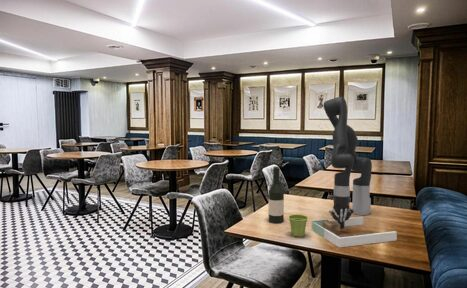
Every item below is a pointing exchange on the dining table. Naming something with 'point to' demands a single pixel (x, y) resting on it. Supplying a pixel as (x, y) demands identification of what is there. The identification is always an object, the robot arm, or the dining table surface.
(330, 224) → the walnut block
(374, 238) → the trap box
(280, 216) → the wine bottle
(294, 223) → the plant pot
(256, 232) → the dining table surface
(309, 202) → the dining table surface
